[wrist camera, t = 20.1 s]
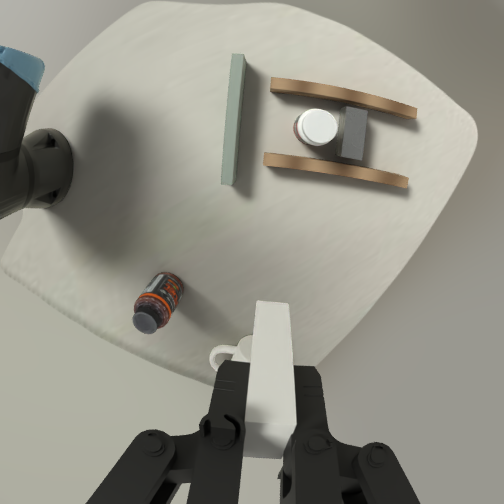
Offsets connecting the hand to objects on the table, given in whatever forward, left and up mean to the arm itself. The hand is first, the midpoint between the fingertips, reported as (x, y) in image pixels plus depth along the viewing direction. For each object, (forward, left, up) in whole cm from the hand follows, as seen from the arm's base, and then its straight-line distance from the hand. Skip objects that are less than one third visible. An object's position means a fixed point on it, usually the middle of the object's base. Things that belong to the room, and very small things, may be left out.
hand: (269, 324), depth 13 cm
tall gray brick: (+10, +11, -29) cm, 33 cm away
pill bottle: (+4, +11, -30) cm, 32 cm away
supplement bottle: (-16, -17, -30) cm, 38 cm away
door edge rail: (-6, +11, -29) cm, 32 cm away
